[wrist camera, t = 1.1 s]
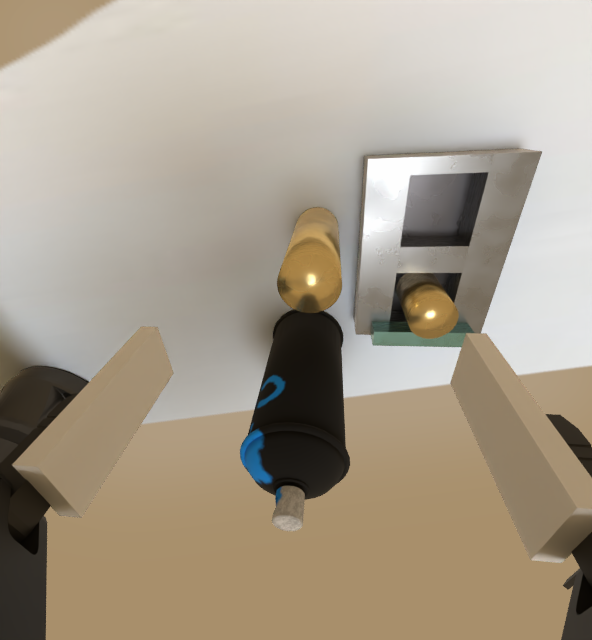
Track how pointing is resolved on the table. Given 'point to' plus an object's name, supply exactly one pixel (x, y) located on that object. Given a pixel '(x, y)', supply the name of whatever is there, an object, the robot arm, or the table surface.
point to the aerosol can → (299, 416)
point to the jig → (436, 241)
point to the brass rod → (312, 263)
